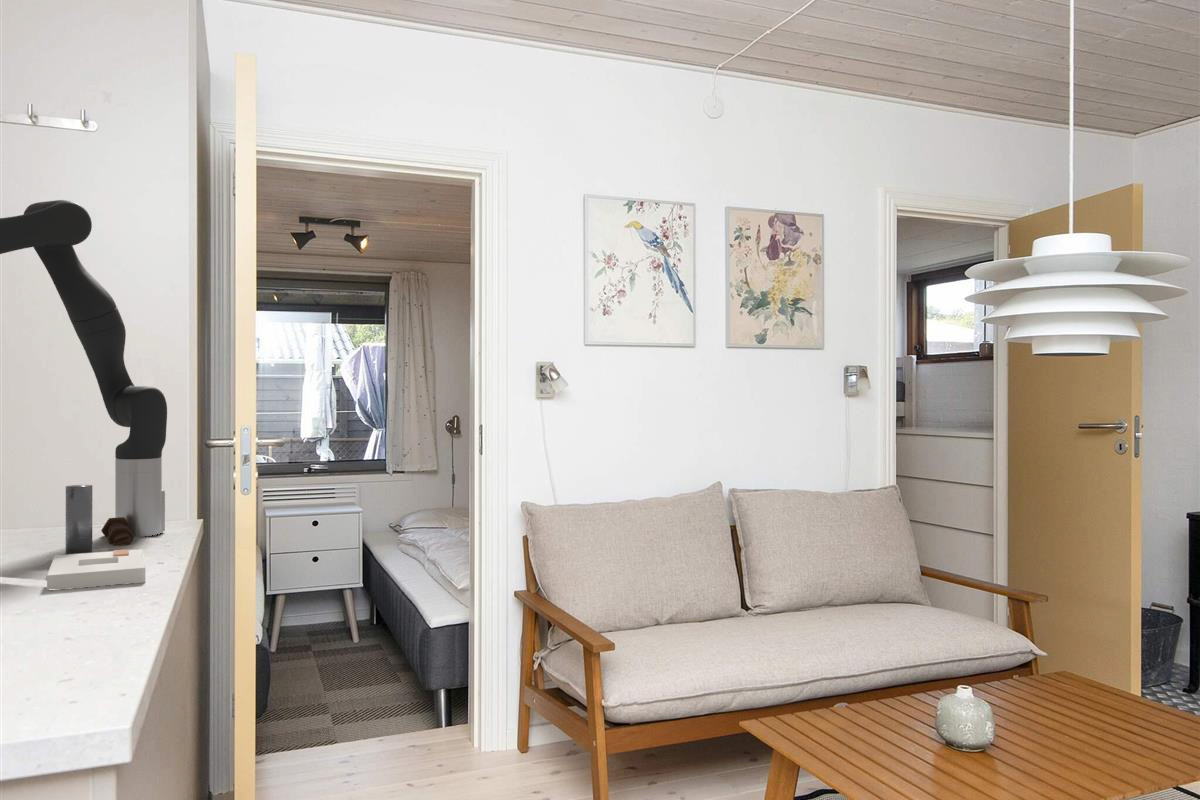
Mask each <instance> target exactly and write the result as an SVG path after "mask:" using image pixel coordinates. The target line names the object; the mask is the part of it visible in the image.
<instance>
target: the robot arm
mask: <svg viewBox="0 0 1200 800" xmlns="http://www.w3.org/2000/svg"><path fill="white" fill-rule="evenodd" d="M92 226H93V224H92V219H91V216H90V213H89V212H88V211H87V210H86V209H85V208H84V206H82V205H80V204H79V203H77V202H74V201H73V200H72V201H71V200H65V199H58V200H57V199H55V200H47V201H39V202H34V203H31V204H30V205H28V206H27V207H26V208H25V210H24V211H23V214H20V215H15V216H7V217H0V255H2V254H7V253H11V252H14V251H19V250H24V249H30V248H33V249H34V251H35V252H36V255H37V256H38V258H39V259H40V260H41V262H42V264H43V266H44V268H45V269H46V271H47V273H48V275H49V276H50V278H51V281H52V282H53V284H54V286H55V289H56V291H57V293H58V296H59V298H60V300H61V302H62V303H63V306H64V308H65V311H66V313H67V315H68V318H69V320H70V322H71V325H72V326H73V329H74V331H75V333H76V335H77V337H78V340H79V341H80V343H81V346H82V347H83V350H84V352H85V355H86V357H87V359H88V362H89V364H90V366H91V368H92V371H93V373H94V376H95V379H96V381H97V384H98V388H99V390H100V391H99V392H100V394H101V396H102V401H103V404H104V406H105V408H106V412H107V414H108V416H109V418H110V419H111V420H112V421H113V422H114V423H115V424H116V425H118V426H121V427H123V428H129V435H128V437H127V439H125V441H124V442H122V443H120V444H118V445H117V446H116V447H115V453H114V454H115V456H114V458H115V460H114V461H115V462H114V463H115V464H114V467H115V468H114V469H115V471H114V472H115V474H114V475H115V477H114V478H115V480H114V481H115V484H114V485H115V488H114V489H115V491H114V492H115V497H114V499H115V500H114V502H115V503H114V505H115V512H114V513H115V514H114V516H115V517H114V518H118V517H124V518H125V519H126V520H127V522H128V523H129V525H130V526H131V528H132V530H131V532H132V534H133V535H134V538H144V537H145V536H146V537H152V535H153V536H158V535H160V533H161V532H162V533H164V532H163V531H165V532H166V524H165V523H166V513H165V512H166V491H165V490H164V489H162V485H163V484H162V482H163V479H162V478H163V477H162V476H163V475H162V473H163V472H162V468H163V467H162V466H163V465H162V462H163V461H162V460H163V459H162V458H163V449H164V447H165V444H166V441H167V440H166V439H167V423H168V404H167V400H166V397H165V394H164V393H163V392H162V391H161V390H160V389H158V388H156V387H154V386H145V385H144V386H143V385H142V386H139V385H138V386H137V385H136V386H135V384H134V383H133V381H132V379H131V376H130V374H129V373H128V370H127V368H126V364H125V356H124V354H125V346H126V335H127V333H126V327H125V323H124V320H123V318H122V316H121V313H120V310H119V309H118V305H116V302H115V300H114V299H113V297H112V295H111V294H110V292H108V290H107V289H106V288H105V287H104V286H102V285H101V283H99V282H98V280H97V279H95V278H94V277H93V276H92V274H90V272H89V271H88V270H87V269H86V268H85V267H84V266H83V264H82V262H81V260H80V258H79V256H78V254H77V253H76V251H75V248H74V246H76V245H79V244H81V243H82V242H84V241H86V240H87V238H89V236H90V235H91V232H92ZM162 533H161V534H162ZM157 534H158V535H157Z"/></svg>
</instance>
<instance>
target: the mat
mask: <svg viewBox="0 0 1200 800" xmlns="http://www.w3.org/2000/svg"><path fill="white" fill-rule="evenodd" d="M95 552H110V547H105V548H102V547H101V548H92V553H95ZM55 555H66V550H60V551H59V550H58V551H50V552H49V553H48V556H47V558H46V562H50V561H51V562H52V561H53V559H54V556H55Z"/></svg>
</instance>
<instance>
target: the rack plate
mask: <svg viewBox="0 0 1200 800" xmlns="http://www.w3.org/2000/svg"><path fill="white" fill-rule="evenodd" d="M143 550H144V549H143V548H141V549H128V548H126V549H115V550H114V549H113V551H112V550H111V551H110V550H109V552H95V553H81V554H67V555H55V556H54V559H53V560H52V561H51V565H49V566H50V567H49V569H48V571H47V574H46V591H47V590H49V589H65V590H69V589H68V588H77V589H84V588H83V587H88V588H97V587H96V586H100V587H106V586H105V585H111V586H115V585H114V584H123V585H127V584H126V583H134V584H143V582H145V583H146V563H145V562H146V561H145V557H144V552H143Z"/></svg>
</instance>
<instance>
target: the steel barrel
mask: <svg viewBox="0 0 1200 800" xmlns="http://www.w3.org/2000/svg"><path fill="white" fill-rule="evenodd" d="M92 549H93V484H72V485H66V486H65V551H66V555H67V554H81V553H92Z"/></svg>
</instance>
